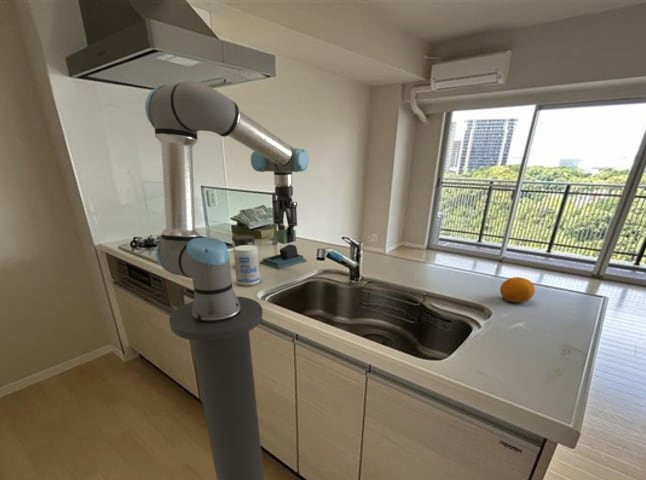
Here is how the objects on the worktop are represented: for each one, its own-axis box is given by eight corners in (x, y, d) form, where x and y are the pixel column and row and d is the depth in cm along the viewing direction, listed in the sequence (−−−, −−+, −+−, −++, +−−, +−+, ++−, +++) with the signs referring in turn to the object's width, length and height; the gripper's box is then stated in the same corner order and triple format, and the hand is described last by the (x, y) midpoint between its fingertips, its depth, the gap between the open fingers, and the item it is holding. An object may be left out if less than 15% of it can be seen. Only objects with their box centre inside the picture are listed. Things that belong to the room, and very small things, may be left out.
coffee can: (261, 266, 162) (258, 236, 156) (243, 270, 155) (240, 240, 149) (247, 262, 168) (245, 233, 162) (230, 266, 161) (227, 237, 155)
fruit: (491, 297, 123) (496, 276, 119) (513, 293, 126) (518, 272, 122) (515, 307, 114) (521, 285, 110) (538, 303, 117) (545, 281, 113)
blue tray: (279, 268, 157) (278, 263, 156) (260, 263, 166) (260, 258, 165) (306, 260, 169) (306, 256, 167) (287, 256, 177) (287, 251, 176)
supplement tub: (242, 288, 134) (238, 251, 128) (233, 281, 141) (229, 247, 135) (264, 283, 139) (261, 248, 133) (254, 277, 146) (251, 243, 140)
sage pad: (284, 244, 147) (283, 232, 145) (276, 242, 150) (276, 231, 148) (295, 241, 152) (295, 230, 149) (288, 239, 155) (288, 228, 153)
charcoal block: (288, 260, 166) (285, 251, 163) (281, 258, 169) (279, 249, 166) (298, 254, 170) (296, 245, 167) (291, 253, 173) (289, 244, 170)
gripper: (305, 186, 137) (306, 242, 147) (276, 184, 149) (279, 236, 159) (291, 187, 133) (293, 245, 143) (263, 185, 144) (267, 239, 154)
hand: (286, 241), depth 151 cm, fingers closed on sage pad, 5 cm apart
